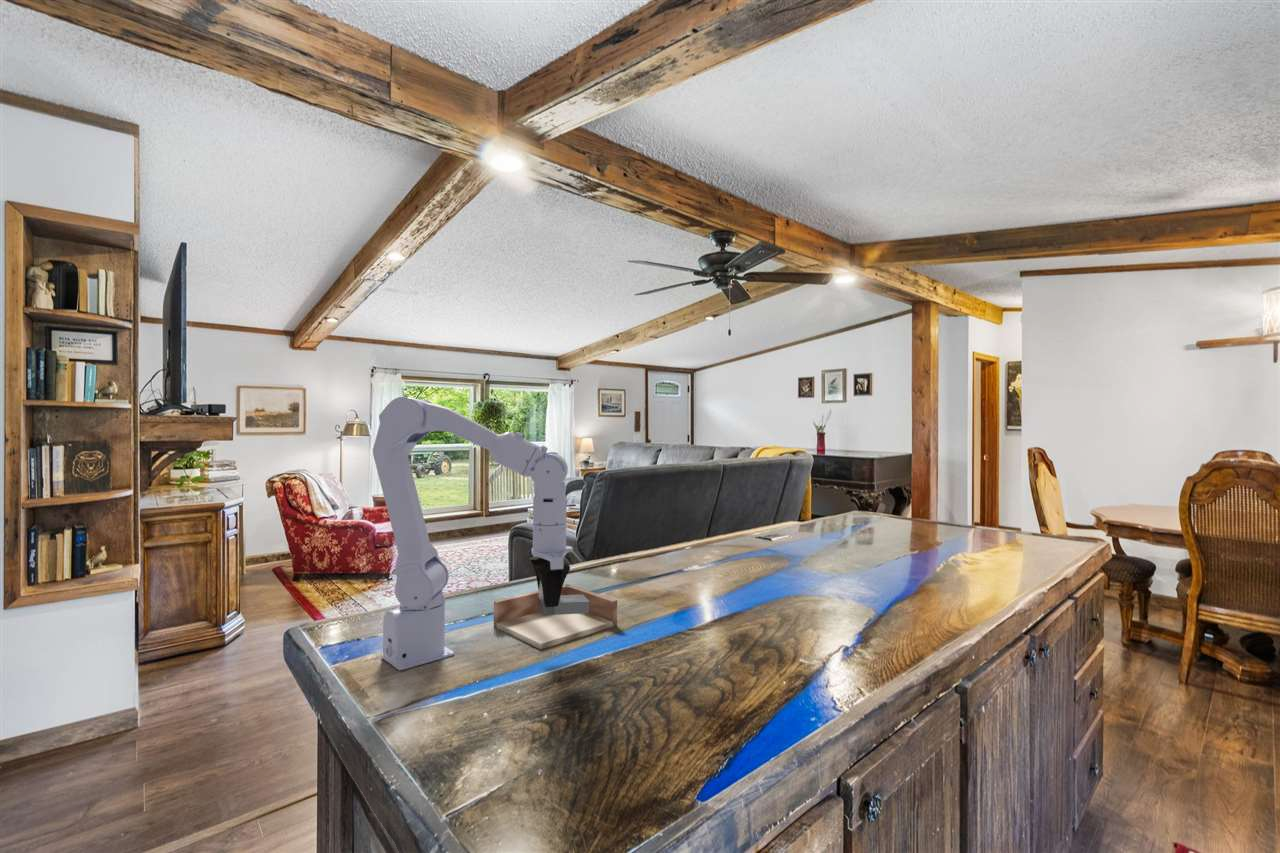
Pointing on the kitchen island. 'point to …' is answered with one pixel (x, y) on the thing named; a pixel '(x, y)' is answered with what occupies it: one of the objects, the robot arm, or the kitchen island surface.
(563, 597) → the angle bracket
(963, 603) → the kitchen island surface
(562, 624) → the corner arena
